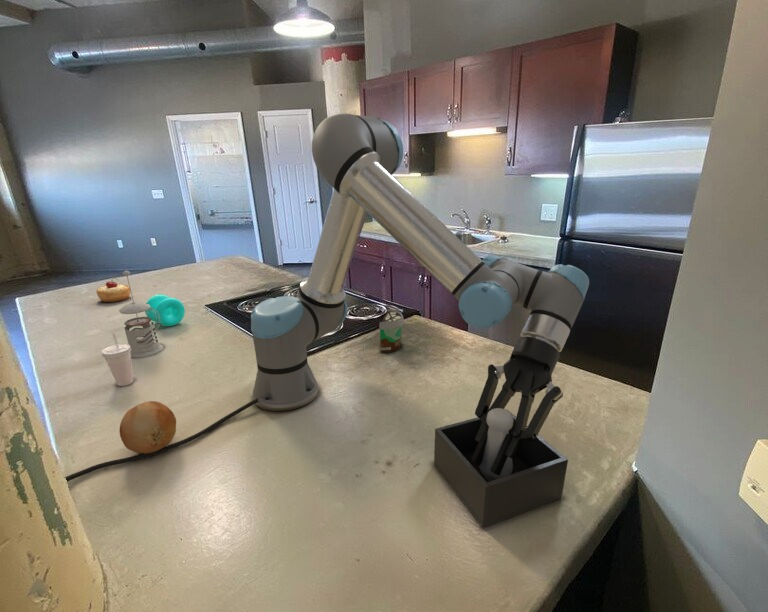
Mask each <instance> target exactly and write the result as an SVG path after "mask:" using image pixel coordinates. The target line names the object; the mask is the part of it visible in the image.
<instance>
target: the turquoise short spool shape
mask: <svg viewBox="0 0 768 612" xmlns="http://www.w3.org/2000/svg"><path fill="white" fill-rule="evenodd" d="M145 303H146V304H149V305H150V306H151V307H150V308H152V310H153V309H155V310H156V311H157V312H158V313H159V315H158V313H157V312H156V311H155V310H153V311H154V313H155V314H154V313H153V311H152V310H150V313H147V312H149V309H148V310H146V311H147V312H146V311H144V314H145V316H146V317H150V318H151V319H152V320H151V322H153V323H155V315H156V323H159V316H160V325H162V326H165V327H174V326H176V325H178V324H179V323H180V322H182V320H183V319H184V317H185V313H186V309H185V306H184V304H183V302H182V301H181V300H179V299H178V298H175V297H170V296H168V295H166V294H155V295H153V296H151V297H150V298H149V299H148V300H147V302H145Z"/></svg>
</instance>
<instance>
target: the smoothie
mask: <svg viewBox="0 0 768 612" xmlns="http://www.w3.org/2000/svg"><path fill="white" fill-rule="evenodd" d="M112 336H113V340H114V345H110V346H108V347H107V346H106V347H105V348H103V349H102V350H101V357H103V358H104V359H105V362H106V364H107V366H108V368H109V371H110V372H111V373H110V374H111V375H112V377H113V379H114V381H115V384H116V385H117V386H118V387H125V386H128V385H131V384H132V383H133V382H134V374H133V365H132V357H131V354H130V351H131V347H130V345H129V344H127V343H119V341H118V336H117V335H116V332H115V331H112Z"/></svg>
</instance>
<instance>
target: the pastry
mask: <svg viewBox="0 0 768 612" xmlns="http://www.w3.org/2000/svg"><path fill="white" fill-rule="evenodd" d="M113 279H114V280H117V281H119V279H118V278H117V277H112V278H111V280H113ZM130 288H131V286H130V287H129V284H128V285H127V284H123V283H121V284H120V283H117V282H115V281H106V283H105V285H104V286H101V287H98V288H97V289H96V292H95V293H96V296H97V297H98V299H99V300H100V301H101V302H105V303H113V302H115V303H116V302H120V301H124V300H127V299H128V298H129V297H130V296H131V291H130Z"/></svg>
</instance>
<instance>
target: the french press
mask: <svg viewBox="0 0 768 612" xmlns="http://www.w3.org/2000/svg"><path fill="white" fill-rule="evenodd" d="M130 275H131V272H130V271H129V270H124V271H123V272H122V276H126V279H127V283H128V286H129V287H130V296H131V299H132V302H130V303H127V304H125V305H123V306H122V307H121V308H120V309H119V310H118V312H119V313H120V314H123V315H135V316H136V317H134V318H130V319H127V320H126V321H125V322H124V323H123V324H124V331H125V336H126V340H127V343H128V345H130V347H131V351H130V354H131V358H144V357H145V358H146V357H150V356H153V355H156V354H158V353H159V352H161V351H162V350H163V349H164V346H163V345H162V344H160V343H159V339H158V335H157V332H156V331H157V330H158V329H159V327H160V325H161V324H160V316H159V322H158V325H157V322H156V315H155V322H154V321H152V319H151V318H150V317H147V316H138V314H140V313H145V311H146V310H148V309H149V312H147V311H146V312H147V313H150V310H152V308H150V307H151V306H150V305H149V304H146V303H147V302H142V301H141V302H139V301H135V300H134V296H133V292H132V289H131V284H130V280H129V277H128V276H130ZM153 310H155V309H153ZM153 310H152V311H153ZM155 311H156V310H155ZM156 312H157V311H156ZM153 313H154V311H153ZM157 313H158V312H157ZM154 314H155V313H154ZM158 315H159V313H158ZM156 325H157V328H156Z"/></svg>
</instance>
